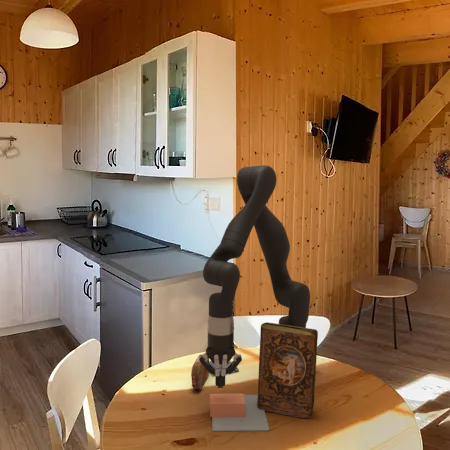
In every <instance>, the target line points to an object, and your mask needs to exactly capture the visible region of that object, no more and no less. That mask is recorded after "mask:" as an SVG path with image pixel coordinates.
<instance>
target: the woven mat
mask: <svg viewBox="0 0 450 450" xmlns="http://www.w3.org/2000/svg"><path fill="white" fill-rule="evenodd" d="M209 363H210V365H211V366H212V367H213V368H215V364H214V363H212V361H211V360H209ZM231 363H232V361H231V360H230V361H229V363H227V364H226V368H228V366H229V365H230V364H231ZM221 365H222V364H219V371H220V373H221ZM239 372H240V370H239V368H238V366H237V367H236V368H235V369H234V371H233V372H232V373H231V374H236V373H239ZM209 375H210V376H211V377H215V375H214V374H210V373H209Z"/></svg>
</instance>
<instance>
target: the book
mask: <svg viewBox="0 0 450 450" xmlns="http://www.w3.org/2000/svg"><path fill="white" fill-rule="evenodd" d="M259 333H260V337H259V338H260V339H259V357H258V358H259V360H258V379H257V381H258V382H257V395H258V397H257V408H258V409H261V410H264V411H265V412H272V413H276V414H282V415H286V416H290V417H296V418H302V419H310V418H311V415H312V410H313V408H314V405H315V388H316V372H317V358H318V356H317V354H318V338H319V337H318V336H319V331H318V330H317V329H314V328H307V327H306V328H302V327H296V326H289V325H282V324H279V323H275V322H263V323H261V324H260V332H259Z"/></svg>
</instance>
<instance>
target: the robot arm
mask: <svg viewBox="0 0 450 450" xmlns="http://www.w3.org/2000/svg"><path fill="white" fill-rule="evenodd" d="M236 183H237V188H238V191H239V193H240V196H241V198H242V201H243V202H244V206H243V207H242V208H241V209H240V210H239V211H238V213H237V214H236V215H234V217H233V218H232V219H231V220H230V221H229V223H228V225H227V227H226V229H225V230H224V233H223V235H222V237H221V240H220V243H219V245H218V246H217V248H216V249H215V250H214V251H213V253H212V254H211V255H210V257H209V258H208V259H207V261H206V262H205V264H204V266H203V271H202V277H203V279H204V281H205V282H206V284H208V285H212V286H218V287H221V292H214V293H212V294H211V295H209V297H208V298H209V299H208V318H207V328H206V329H207V347H206V350H205V352H204V353H203V354H199V355H200V356H199V355H198V356H199V361H200V362H201V364H202V365H203V366H204V367H205V368H206V370H207V371H208V372H209V375H210V374H214V375H215V376H214V377H215V381H214V382H215V387H217V388H218V389H223V388H224V387H225V386H226V376H227V375H231V374H233V373H232V372H233V371H234V369H235V368H236V367H237V368H238V366H239V365H240V364H241V363H242V361H243V358H242V357H243V356H242V355H241V354H238V353H237V352H236V349H235V347H234V345H235V341H234V340H235V319H234V300H235V297H236V293H237V289H238V286H239V283H240V279H241V274H240V273H241V272H240V269H239V267H238V266H237V264H236V263H233V262H230V260H233V259H238V258H240V257H241V256H242V255H243V253H244V251H245V248H246V245H247V243H248V240H249V237H250V235H251V232H252V230H253V228H254V229H255V232H256V237H257V240H258V242H259V246H260V249H261V251H262V254H263V257H264V259H265V263H266V267H267V270H268V273H269V278H270V281H271V286H272V290H273V295H274V299H275V300H276V302H277V303H278V304H279V305H281V306H282V307H285V308H288V314H287V315H284V316H282V317H280V318H279V319H278V324H282V325H289V326H296V327H302V328H307V327H306V326H307V323H308V320H309V316H310V305H311V303H310V302H311V291H310V288H309V286H308V285H307V284H305V283H302V282H299V281H296V280H292V278H291V276H290V273H289V270H288V266H287V262H288V257H289V256H290V250H291V243H290V240H289V238H288V234H287V230H286V228H285V226H284V224H283V223H282V222H281V221H280V220H279V219H278V217H277V216H276V215H275V214H274V213H273V212H272V211H271V209H269V208H268V206H267V203H268V201H269V200H270V198H271V197H272V194H273V193H274V191H275V190H276V186H277V173H276V172H275V170H274V168H273V167H272V166H269V165H264V164H263V165H252V166H251V165H250V166H244V167H242V168H240V169H239V170H238V172H237V175H236ZM207 356H208V357H209V362H210V361H212V363H214V364H215V368H213V367H212V366H211V365H210V363H209V362H208V361H207V360H208V358H207ZM232 359H233V360H232ZM231 360H232V361H231ZM229 361H231V362H232V363H231V364H230V365H229V366H228V368H226V364H227V363H229ZM219 364H222V365H221V373H220V371H219Z"/></svg>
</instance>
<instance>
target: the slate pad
mask: <svg viewBox="0 0 450 450" xmlns="http://www.w3.org/2000/svg"><path fill="white" fill-rule="evenodd" d="M257 397H258V394H244V400H245V417H211V422H212V423H211V424H212V425H211V426H212V432H270V428H269V424H268V420H267V416H266V410H261V409H258V408H257Z"/></svg>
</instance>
